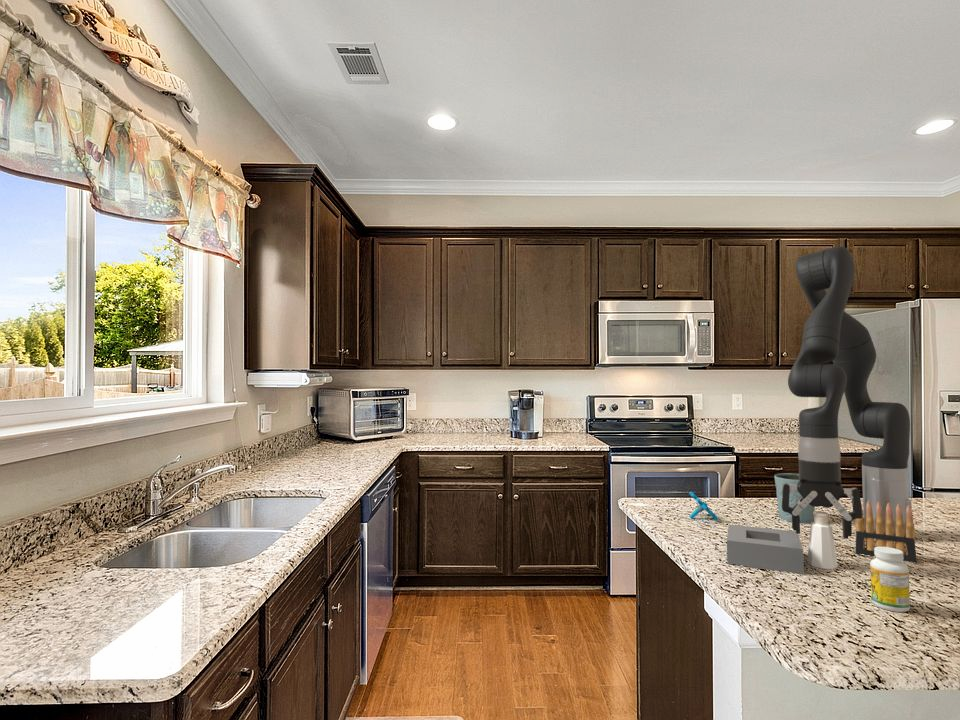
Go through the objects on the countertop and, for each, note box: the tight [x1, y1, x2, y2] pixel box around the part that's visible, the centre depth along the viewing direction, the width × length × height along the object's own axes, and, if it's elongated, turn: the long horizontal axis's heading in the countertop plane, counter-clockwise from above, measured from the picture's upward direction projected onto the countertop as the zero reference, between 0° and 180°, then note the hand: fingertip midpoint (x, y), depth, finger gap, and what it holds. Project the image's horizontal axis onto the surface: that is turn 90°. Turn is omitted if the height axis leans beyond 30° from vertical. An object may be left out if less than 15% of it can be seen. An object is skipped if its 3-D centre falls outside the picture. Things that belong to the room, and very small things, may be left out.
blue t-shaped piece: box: [688, 491, 720, 522], centre depth 152 cm, size 11×6×10 cm
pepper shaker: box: [806, 510, 838, 570], centre depth 114 cm, size 5×5×11 cm
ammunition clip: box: [854, 501, 918, 564], centre depth 119 cm, size 11×2×12 cm, turn 55°
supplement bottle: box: [869, 547, 911, 613], centre depth 93 cm, size 5×5×10 cm
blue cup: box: [773, 472, 815, 524], centre depth 150 cm, size 10×10×12 cm
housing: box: [726, 523, 805, 575], centre depth 117 cm, size 14×14×5 cm
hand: (821, 535), depth 114 cm, fingers open, 8 cm apart
